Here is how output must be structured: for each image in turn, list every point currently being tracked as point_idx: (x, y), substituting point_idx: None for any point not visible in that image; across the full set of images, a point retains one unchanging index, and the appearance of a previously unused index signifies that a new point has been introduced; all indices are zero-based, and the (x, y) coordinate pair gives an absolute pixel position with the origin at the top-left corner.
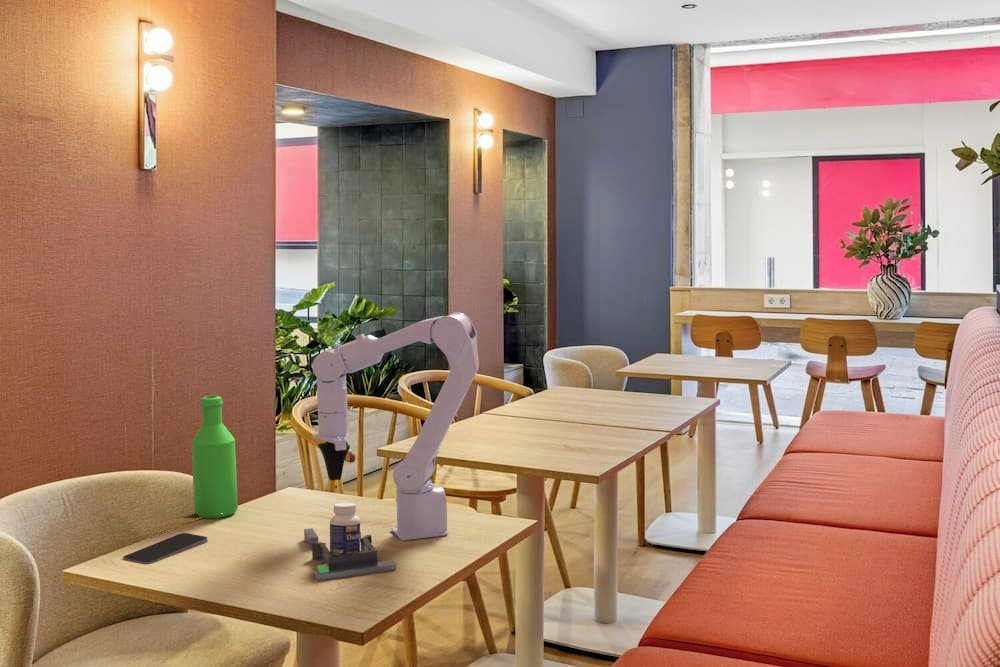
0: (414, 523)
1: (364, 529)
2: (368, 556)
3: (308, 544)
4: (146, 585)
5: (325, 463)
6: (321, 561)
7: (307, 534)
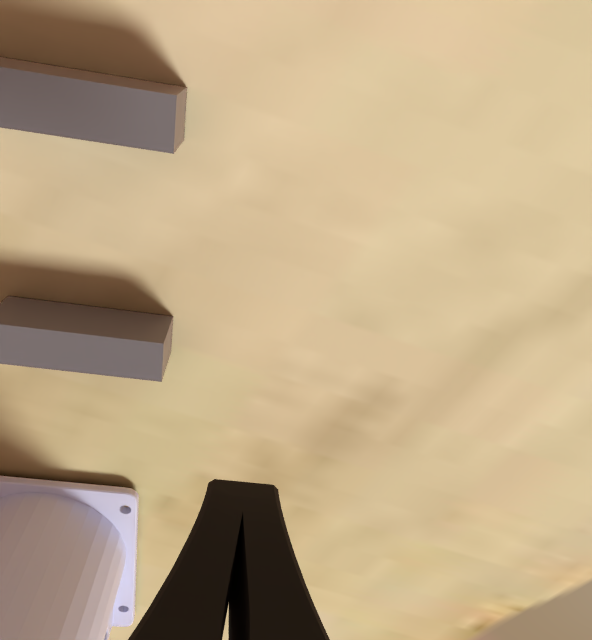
0: None
1: (210, 407)
2: None
3: (31, 63)
4: None
5: (289, 612)
6: None
7: (43, 75)
